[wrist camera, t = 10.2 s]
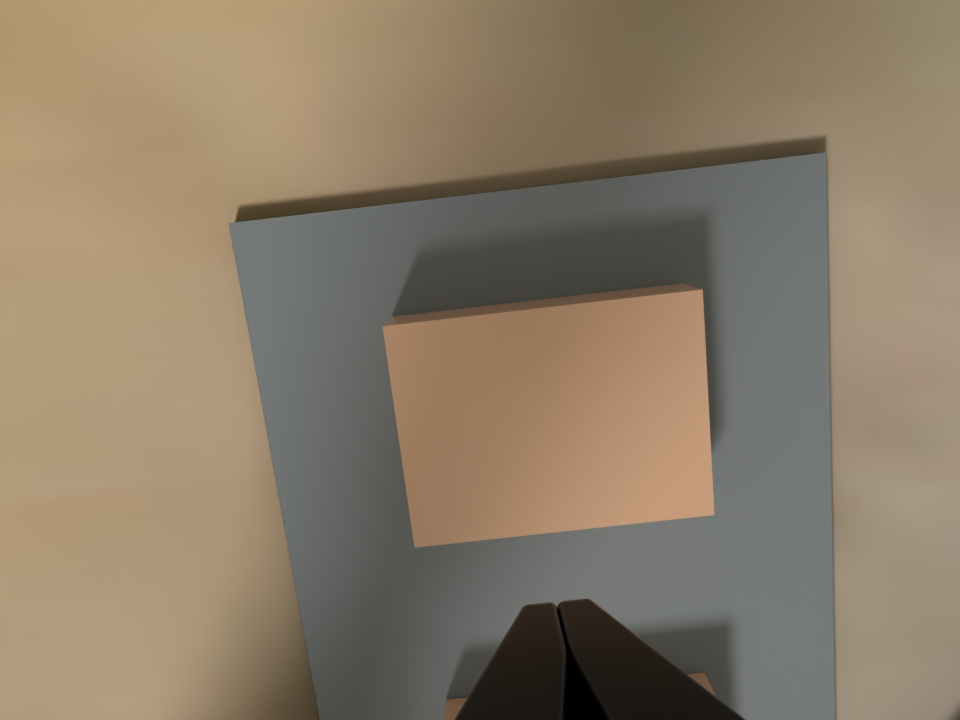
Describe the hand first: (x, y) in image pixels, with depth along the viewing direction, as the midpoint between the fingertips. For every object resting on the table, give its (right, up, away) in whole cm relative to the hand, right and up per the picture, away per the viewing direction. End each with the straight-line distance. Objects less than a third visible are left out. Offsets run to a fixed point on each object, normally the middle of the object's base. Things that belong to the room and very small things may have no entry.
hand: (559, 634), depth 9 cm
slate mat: (+2, -4, +13) cm, 13 cm away
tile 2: (-3, +1, +10) cm, 11 cm away
